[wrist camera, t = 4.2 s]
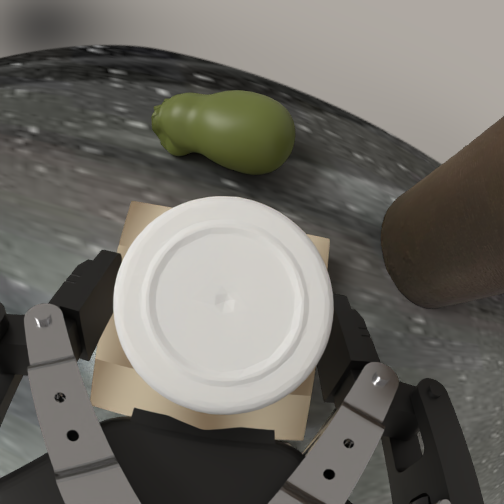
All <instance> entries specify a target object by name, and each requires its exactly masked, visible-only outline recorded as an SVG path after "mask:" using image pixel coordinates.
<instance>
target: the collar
mask: <svg viewBox="0 0 504 504" xmlns="http://www.w3.org/2000/svg"><path fill="white" fill-rule="evenodd" d="M170 209H172V208H170V207H164V206H159V205H153V204H147V203H142V202H136V201H131V204H130V208H129V211H128V214H127V218H126V221H125V224H124V228H123V231H122V235H121V239H120V242H119V246H118V250H117V253H120V254H121V256H122V260H123V258H124V257H125V255H126V253H127V251H128V249H129V247H130V246H131V244H132V243H133V241H134V240H135V239H136V237H137V236H138V235H139V234H140V233H141V232H142V231H143V230H144V229H145V227H146V226H147V225H148V224H149V223H151V222H152V221H153V220H154V219H155V218H157V217H158V216H160V215H162V214H163V213H164V212H166V211H168V210H170ZM306 235H307V236H308V237H309V238H310V240H311V241H312V242H313V244H314V245H315V247H316V248H317V250H318V252H319V253H320V255H321V257H322V259H323V261H324V263H325V266H326V268H327V267H328V255H329V242H330V239H327V238H322V237H318V236H313V235H308V234H306ZM315 369H316V366H315V368H314V369H313V371H312V372H311V373H310V375H309V376H308V377H307V378H306V380H305V381H304V382H302V383H301V385H300V386H299V387H297V388H296V389H295V390H294V391H293V392H291V393H290V394H288V395H287V396H285V397H284V398H282V399H281V400H279V401H277V402H276V403H273V404H271V405H269V406H267V407H264V408H262V409H259V410H255V411H251V412H247V413H241V414H232V415H216V414H207V413H202V412H197V411H194V410H191V409H188V408H185V407H183V406H180V405H178V404H176V403H174V402H172V401H170V400H168V399H166V398H165V397H163V396H162V395H160V394H159V393H158V392H156V391H155V390H154V389H152V388H151V387H150V386H149V385H148V384H147V383H146V382H145V381H144V380H143V379H142V378H141V377H140V376H139V375H138V374H137V372H136V371H135V369H134V368H133V366H132V365H131V363H130V361H129V360H128V358H127V356H126V354H125V352H124V350H123V348H122V346H121V343H120V340H119V337H118V334H117V330H116V326H115V321H114V312H113V314H112V316H111V318H110V320H109V322H108V324H107V326H106V328H105V330H104V332H103V334H102V336H101V338H100V340H99V342H98V345H97V351H96V358H95V365H94V373H93V381H92V389H91V399H90V401H91V404H92V406H96V407H99V408H102V409H105V410H109V411H112V412H116V413H119V414H123V415H127V416H132V413H133V409H134V408H138V409H142V410H146V411H151V412H155V413H159V414H164V415H168V416H171V417H173V418H175V419H178V420H180V421H182V422H185V423H187V424H189V425H192V426H194V427H197V428H199V429H203V430H212V429H225V428H235V427H245V428H255V429H267V430H275V439H278V440H303V438H304V433H305V428H306V423H307V417H308V412H309V406H310V400H311V394H312V388H313V382H314V375H315Z"/></svg>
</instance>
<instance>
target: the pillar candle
mask: <svg viewBox="0 0 504 504" xmlns="http://www.w3.org/2000/svg"><path fill="white" fill-rule="evenodd" d="M381 246H382V252H383V258H384V262H385V266H386V269H387V271H388V273H389V275H390V276H391V278H392V280H393V281H394V283H395V284H396V286H397V288H398V289H399V290H400V291H401V293H403V294H404V296H405V297H407V298H408V299H409V300H410V301H412V302H413V303H415V304H417V305H419V306H422V307H425V308H440V307H445V306H450V305H455V304H460V303H464V302H469V301H473V300H478V299H482V298H486V297H491V296H495V295H499V294H503V293H504V116H503V117H502V118H501V119H500V120H499V121H497V122H496V123H495V124H493V125H492V126H491V127H490V128H488V129H487V130H486V131H484V132H483V133H482V134H481V135H480V136H478V137H477V138H476V139H474V140H473V141H472V142H471V143H470V144H469V145H467V146H465V147H464V148H463V149H462V150H460V151H459V152H458V153H457V154H456V155H454V156H453V157H451V158H450V159H449V160H448V161H446V162H445V163H443V164H442V165H441V166H439V167H438V168H436V169H435V170H434V171H433V172H432V173H430V174H429V175H428V176H426V177H425V178H424V179H423V180H421V181H420V182H418V183H417V184H416V185H414V186H413V187H412V188H411V189H409V190H408V191H406V192H405V193H403V194H402V195H401V196H400V197H398V198H397V199H396V200H395V201H394V202H393V204H392V205H391V206H390V207H389V209H388V210H387V213H386V214H385V217H384V220H383V224H382V230H381Z"/></svg>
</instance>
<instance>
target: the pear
mask: <svg viewBox="0 0 504 504" xmlns="http://www.w3.org/2000/svg"><path fill="white" fill-rule="evenodd" d="M154 111H155V112H154V113H153V115H152V117H151V118H152V130H153V131H154V133H155V134H156V135H157V136H158V137H159V139H160V141H161V145H162V146H163V147H164V148H165V149H166V150H168V152H169V153H170V154H172V155H174V156H183V155H186V154H189V153H191V152H196V153H200V154H203V155H204V156H206V157H207V158H209V159H210V160H212V161H213V162H215V163H217V164H219V165H221V166H224V167H226V168H229V169H231V170H235V171H238V172H241V173H245V174H252V175H260V174H266V173H269V172H272V171H274V170H276V169H277V168H279V167H280V166H281V165H282V164H283V163H284V162H285V161H286V160H287V158H288V157H289V155H290V153H291V151H292V149H293V146H294V142H295V126H294V122H293V119H292V117H291V115H290V113H289V112H288V111H287V109H286V108H285V107H284V106H283V105H281V104H280V103H279V102H277V101H275V100H274V99H272V98H269V97H267V96H264V95H261V94H258V93H254V92H248V91H238V90H234V91H224V92H219V93H215V94H210V95H204V94H198V93H184V94H178V95H175V96H173V97H172V98H171V99H164V102H163V103H162V104H161V105H158V106H155V107H154Z"/></svg>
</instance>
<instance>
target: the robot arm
mask: <svg viewBox="0 0 504 504" xmlns="http://www.w3.org/2000/svg"><path fill="white" fill-rule="evenodd" d="M121 263H122V256H121V254H120V253H116V252H111V251H106V250H101V251H100V253H99V254H98V255H97V256H96V258H95V259H94V260H93V261H92V260H87V261H85V262H83V263H81V264H80V265H78V266H77V267H76V268H75V270H74V271H73V272H72V273H71V275H70V276H69V277H68V278H67V280H66V282H64V283H63V285H62V286H61V287H60V288H59V290H58V291H57V292H56V294H55V295H54V296H53V298H52V299H51V300H50V302H49V303H48V304H39V305H36V306H34V307H32V308H31V309H29V310H28V311H27V313H26V314H25V315H13V314H6V311H5V308H4V306H3V305H2V303H0V427H1V424H2V422H3V419H4V417H5V414H6V412H7V410H8V407H9V405H10V403H11V401H12V398H13V396H14V394H15V392H16V390H17V387H18V385H19V383H20V381H21V379H22V377H23V375H28V376H29V382H30V387H31V391H32V396H33V400H34V405H35V409H36V413H37V417H38V421H39V424H40V428H41V431H42V435H43V438H44V441H45V445H46V448H47V451H48V453H46V454H44V455H42V456H41V457H39V458H37V459H35V460H33V461H32V462H30V463H28V464H26V465H24V466H22V467H21V468H19V469H17V470H15V471H13V472H11V473H9V474H8V475H6V476H4V477H2V478H0V504H352V503H351V502H350V501H349V500H348V497H349V496H350V494H351V492H352V491H353V489H354V487H355V486H356V484H357V482H358V480H359V479H360V477H361V475H362V473H363V471H364V470H365V468H366V466H367V464H368V462H369V460H370V458H371V456H372V454H373V452H374V450H375V448H376V446H377V444H378V442H379V440H380V438H381V440H382V445H383V450H384V455H385V460H386V466H387V471H388V477H389V483H390V489H391V495H392V502H393V504H484V502H483V498H482V494H481V490H480V487H479V483H478V479H477V476H476V472H475V469H474V466H473V463H472V459H471V456H470V453H469V450H468V447H467V444H466V441H465V438H464V435H463V432H462V430H461V427H460V424H459V421H458V419H457V416H456V413H455V411H454V408H453V406H452V403H451V401H450V398H449V396H448V393H447V391H446V389H445V388H444V387H443V385H442V384H441V383H439V382H438V381H436V380H434V379H430V378H425V379H423V380H421V381H420V382H419V384H418V385H417V386H412V385H409V384H406V383H402V382H399V380H398V377H397V375H396V373H395V372H394V371H393V370H392V369H391V368H390V367H389V366H387V365H385V364H383V363H381V362H380V360H379V357H378V355H377V352H376V349H375V347H374V344H373V342H372V339H371V338H370V334H369V332H368V330H367V327H366V324H365V322H364V319H363V318H362V317H361V316H360V314H359V313H358V312H357V311H356V310H353V309H351V307H350V304H349V302H348V299H347V297H346V296H344V295H338V294H333V302H334V304H333V307H334V312H333V322H332V328H331V332H330V336H329V340H328V343H327V345H326V348H325V350H324V352H323V354H322V356H321V358H320V360H319V362H318V363H317V367H318V373H319V378H320V383H321V389H322V394H323V400H324V402H331V403H335V406H336V408H335V409H334V411H333V412H332V413H331V415H330V416H329V418H328V419H327V421H326V422H325V423H324V425H323V426H322V428H321V429H320V430H319V432H318V433H317V435H316V436H315V437H314V439H313V440H312V441H311V443H310V444H309V445H308V446H307V448H306V449H305V450H304V451H303V453H301V452H300V451H298V450H297V449H295V448H294V447H292V446H290V445H288V444H286V443H283V442H281V441H278V440H275V430H267V429H255V428H245V427H235V428H225V429H212V430H203V429H199V428H197V427H194V426H192V425H189V424H187V423H185V422H182V421H180V420H178V419H175V418H173V417H171V416H168V415H164V414H159V413H155V412H151V411H146V410H142V409H138V408H134V409H133V413H132V416H126V417H116V418H111V419H107V420H104V421H101V422H99V421H98V419H97V416H96V414H95V412H94V409H93V407H92V404H91V401H90V399H89V396H88V394H87V391H86V388H85V385H84V383H83V380H82V377H81V374H80V371H79V368H78V365H77V361H78V359H79V358H80V359H83V360H86V361H89V360H90V358H91V356H92V354H93V352H94V350H95V348H96V346H97V344H98V342H99V340H100V338H101V336H102V334H103V332H104V330H105V328H106V326H107V324H108V322H109V320H110V318H111V316H112V314H113V312H114V311H113V298H114V287H115V282H116V278H117V274H118V271H119V268H120V265H121ZM419 431H420V432H421V436H422V439H423V443H424V454H423V456H422V452H421V448H420V444H419V440H418V437H417V433H418V432H419Z"/></svg>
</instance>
